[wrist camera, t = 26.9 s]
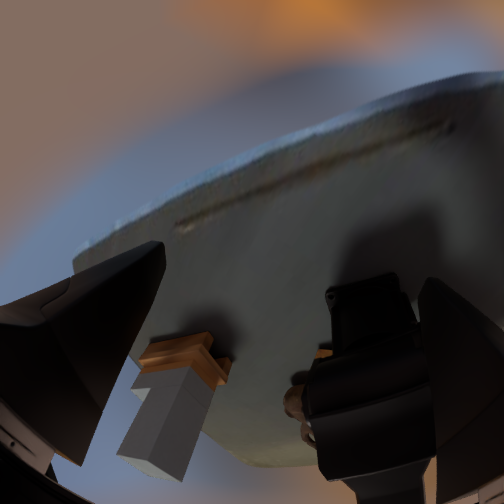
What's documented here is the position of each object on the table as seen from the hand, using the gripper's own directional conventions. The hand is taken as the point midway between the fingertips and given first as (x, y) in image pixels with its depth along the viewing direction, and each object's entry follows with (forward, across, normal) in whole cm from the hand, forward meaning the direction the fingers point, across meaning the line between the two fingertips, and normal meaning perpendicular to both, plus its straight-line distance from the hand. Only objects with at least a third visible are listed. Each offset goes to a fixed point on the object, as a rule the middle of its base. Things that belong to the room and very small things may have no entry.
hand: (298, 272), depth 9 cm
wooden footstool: (+12, +9, +22) cm, 27 cm away
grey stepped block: (+9, +10, +22) cm, 26 cm away
